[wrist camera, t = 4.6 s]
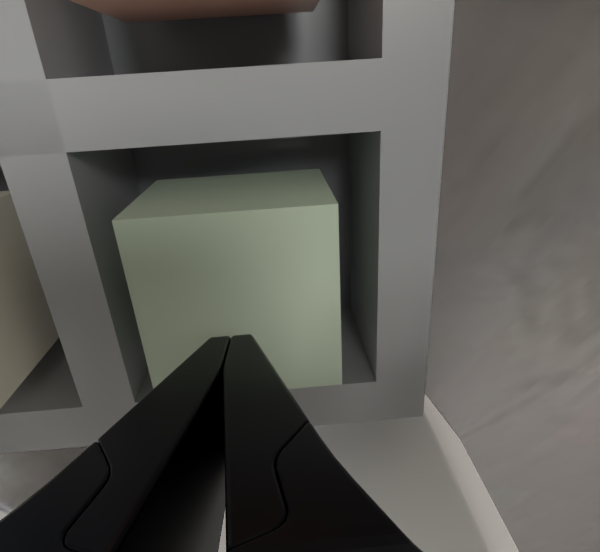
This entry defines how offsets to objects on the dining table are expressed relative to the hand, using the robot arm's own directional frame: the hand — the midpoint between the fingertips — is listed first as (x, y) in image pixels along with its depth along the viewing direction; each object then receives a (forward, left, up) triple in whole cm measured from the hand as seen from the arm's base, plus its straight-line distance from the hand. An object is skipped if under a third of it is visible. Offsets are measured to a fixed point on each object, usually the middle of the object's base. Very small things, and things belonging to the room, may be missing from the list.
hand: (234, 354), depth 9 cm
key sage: (0, 0, -6) cm, 6 cm away
